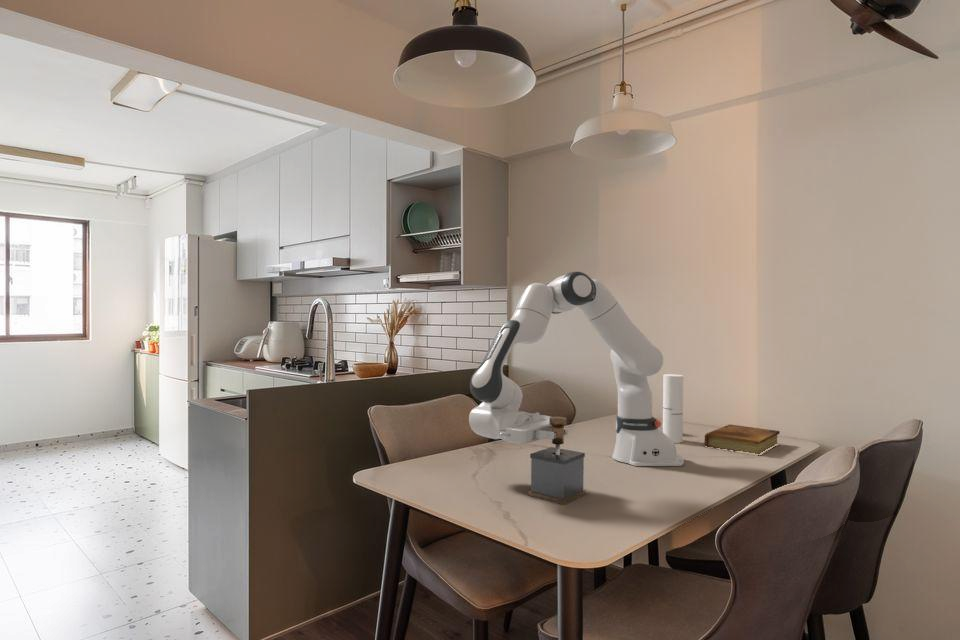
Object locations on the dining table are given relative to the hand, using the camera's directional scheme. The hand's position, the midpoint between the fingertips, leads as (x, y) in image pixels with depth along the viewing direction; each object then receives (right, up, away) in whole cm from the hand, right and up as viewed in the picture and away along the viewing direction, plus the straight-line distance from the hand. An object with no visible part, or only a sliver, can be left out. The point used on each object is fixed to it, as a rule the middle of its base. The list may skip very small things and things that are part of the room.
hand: (560, 434), depth 150 cm
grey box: (-1, -16, +1) cm, 16 cm away
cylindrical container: (+52, -16, +65) cm, 84 cm away
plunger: (-1, -15, +1) cm, 15 cm away
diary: (+75, -17, +58) cm, 96 cm away
